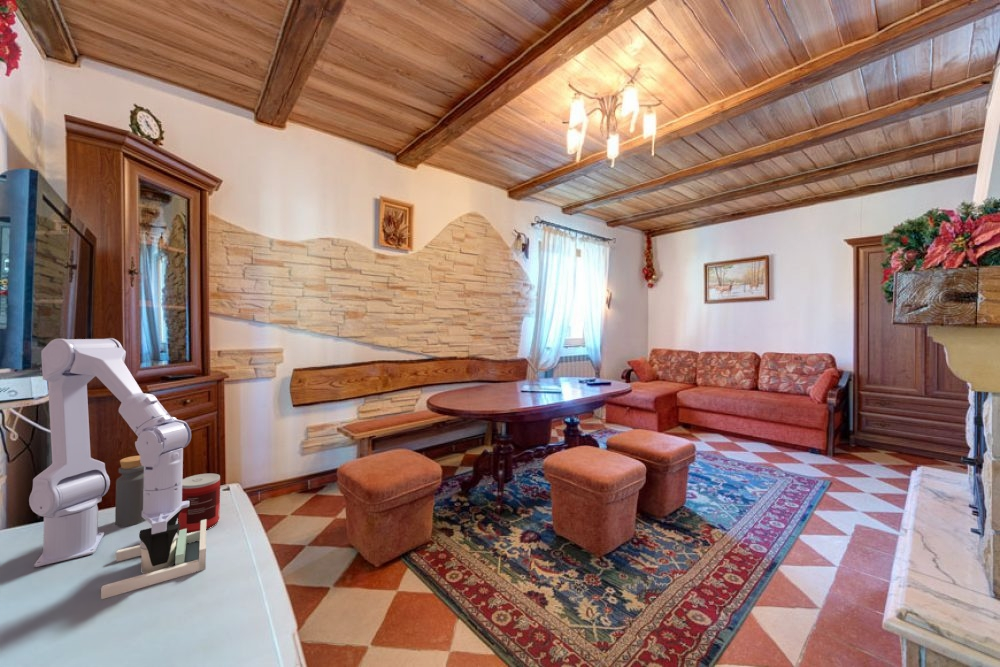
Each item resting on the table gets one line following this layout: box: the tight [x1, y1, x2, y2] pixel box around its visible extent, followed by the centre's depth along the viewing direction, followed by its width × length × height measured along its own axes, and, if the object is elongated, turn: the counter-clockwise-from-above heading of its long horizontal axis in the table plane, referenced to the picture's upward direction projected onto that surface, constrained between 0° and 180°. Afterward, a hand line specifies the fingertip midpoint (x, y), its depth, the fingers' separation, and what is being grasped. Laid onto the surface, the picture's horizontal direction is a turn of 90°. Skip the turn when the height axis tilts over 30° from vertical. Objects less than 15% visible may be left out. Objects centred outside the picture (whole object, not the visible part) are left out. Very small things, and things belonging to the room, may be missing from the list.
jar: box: [139, 532, 179, 574], centre depth 73 cm, size 5×5×5 cm
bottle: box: [114, 455, 146, 528], centre depth 90 cm, size 6×6×15 cm
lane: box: [100, 519, 207, 600], centre depth 74 cm, size 14×14×4 cm
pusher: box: [174, 528, 187, 566], centre depth 75 cm, size 11×1×3 cm, turn 38°
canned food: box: [177, 473, 221, 533], centre depth 88 cm, size 8×8×11 cm
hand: (162, 553), depth 74 cm, fingers open, 7 cm apart
